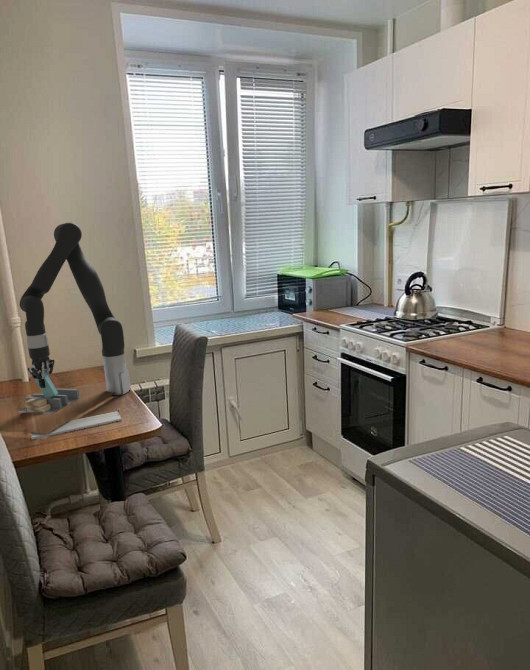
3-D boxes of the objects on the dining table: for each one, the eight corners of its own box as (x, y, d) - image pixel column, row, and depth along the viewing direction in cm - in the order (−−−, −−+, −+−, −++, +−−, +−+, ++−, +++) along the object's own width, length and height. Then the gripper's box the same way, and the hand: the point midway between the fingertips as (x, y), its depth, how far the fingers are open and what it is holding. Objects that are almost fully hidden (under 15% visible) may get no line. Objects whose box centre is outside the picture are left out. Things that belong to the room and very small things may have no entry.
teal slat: (58, 393, 205) (44, 369, 204) (55, 394, 203) (40, 371, 202) (50, 398, 207) (35, 374, 206) (46, 399, 205) (32, 376, 204)
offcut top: (47, 404, 202) (46, 399, 202) (40, 407, 199) (39, 402, 198) (32, 403, 204) (31, 398, 204) (25, 406, 201) (24, 402, 200)
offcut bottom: (50, 409, 202) (50, 404, 202) (44, 412, 199) (43, 407, 198) (34, 408, 205) (33, 403, 204) (27, 411, 201) (26, 406, 200)
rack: (80, 401, 214) (79, 388, 213) (51, 417, 197) (49, 404, 196) (49, 399, 219) (47, 387, 218) (17, 415, 201) (15, 402, 200)
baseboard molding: (31, 430, 187) (32, 441, 177) (30, 422, 187) (30, 433, 176) (116, 412, 200) (122, 422, 190) (115, 405, 199) (121, 415, 189)
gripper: (33, 349, 193) (41, 392, 197) (57, 341, 206) (63, 381, 210) (17, 349, 196) (25, 392, 199) (42, 341, 208) (48, 381, 212)
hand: (45, 386), depth 205 cm, fingers closed on teal slat, 1 cm apart
